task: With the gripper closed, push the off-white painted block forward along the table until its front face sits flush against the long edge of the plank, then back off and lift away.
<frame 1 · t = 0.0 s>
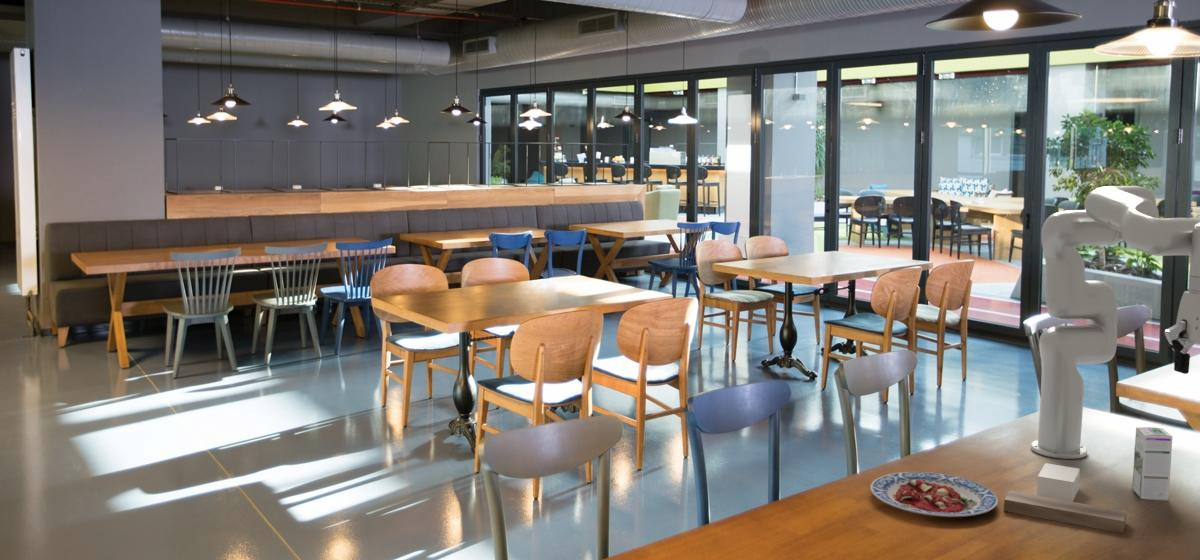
block: (1057, 494, 210), on the table
ceramic plate: (932, 502, 206), on the table
syrup box: (1149, 496, 208), on the table
plank: (1063, 516, 197), on the table
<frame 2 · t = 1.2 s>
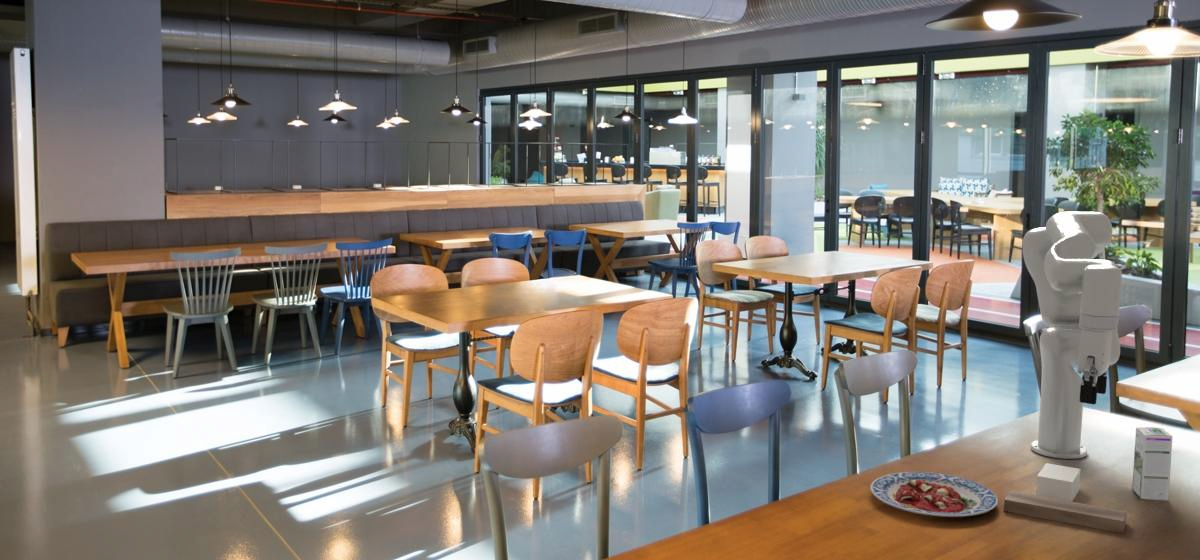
hand: (1092, 397, 211), 20 cm above the table, tool pointing down, fingers open, 9 cm apart
nothing on the table moved.
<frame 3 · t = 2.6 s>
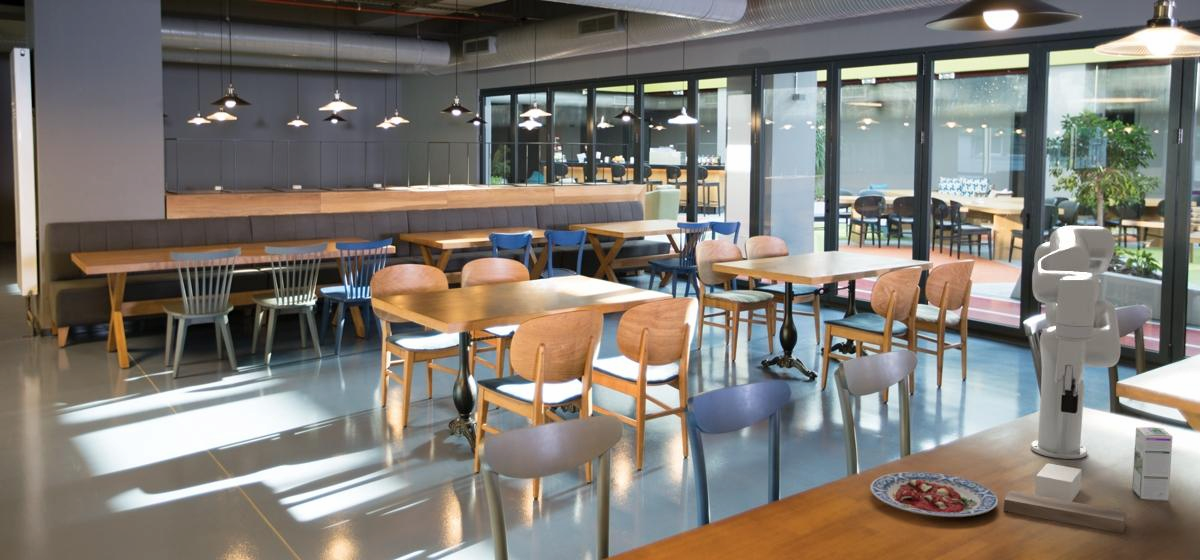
hand: (1068, 411, 216), 16 cm above the table, tool pointing down, fingers closed
nothing on the table moved.
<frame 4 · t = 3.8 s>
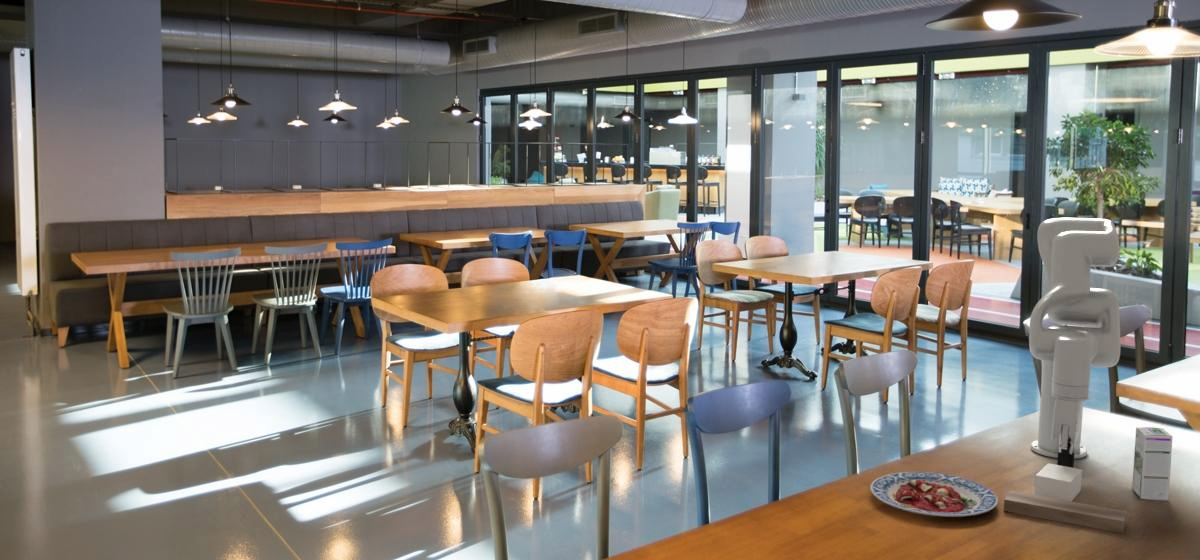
hand: (1065, 469, 218), 2 cm above the table, tool pointing down, fingers closed
nothing on the table moved.
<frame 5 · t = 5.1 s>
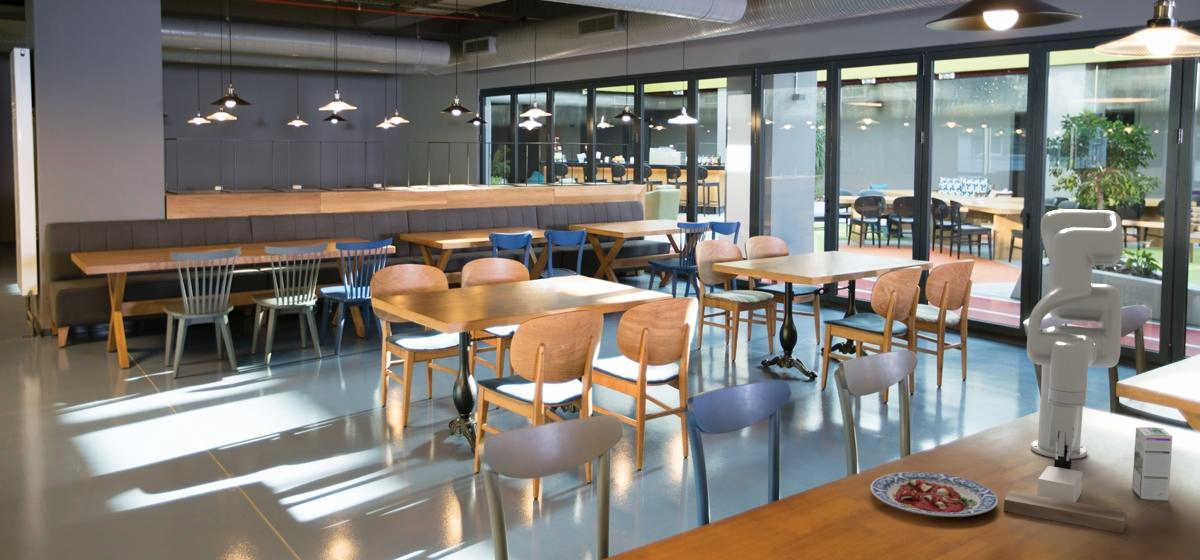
hand: (1061, 476, 214), 2 cm above the table, tool pointing down, fingers closed
block: (1059, 497, 208), on the table, touching gripper
everything else where it was.
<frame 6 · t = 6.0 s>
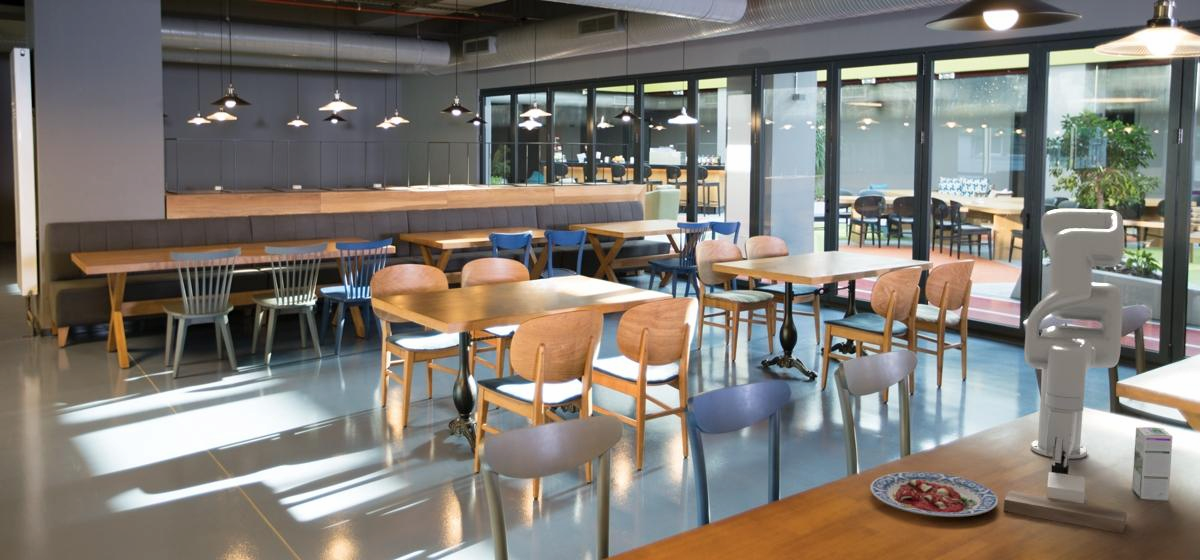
hand: (1059, 482, 211), 2 cm above the table, tool pointing down, fingers closed
block: (1064, 504, 204), on the table, touching gripper, plank
everything else where it was.
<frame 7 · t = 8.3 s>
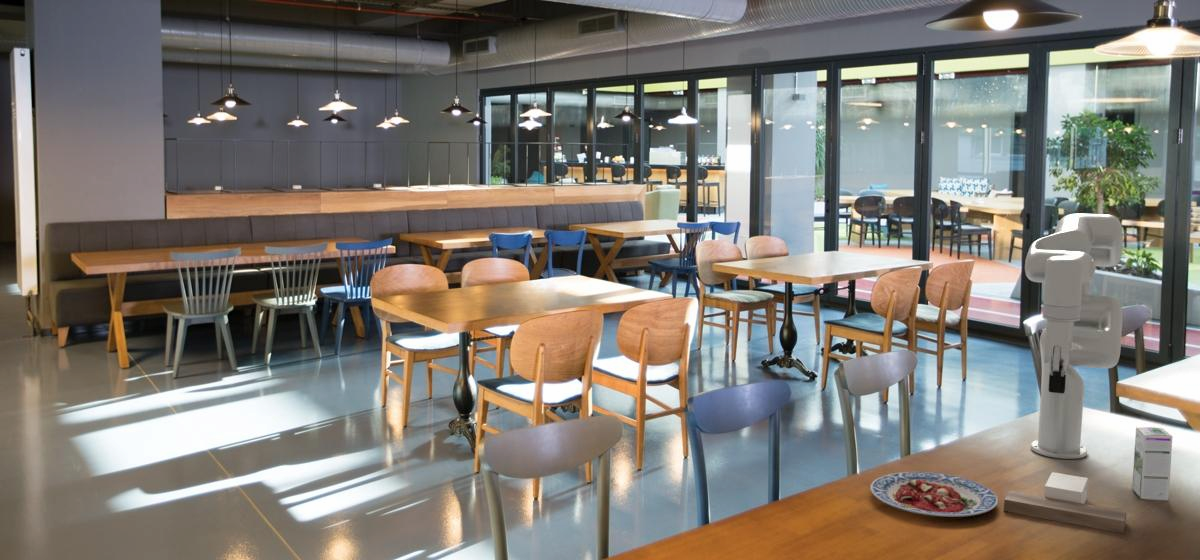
hand: (1056, 391, 216), 21 cm above the table, tool pointing down, fingers closed
block: (1065, 504, 204), on the table
everything else where it was.
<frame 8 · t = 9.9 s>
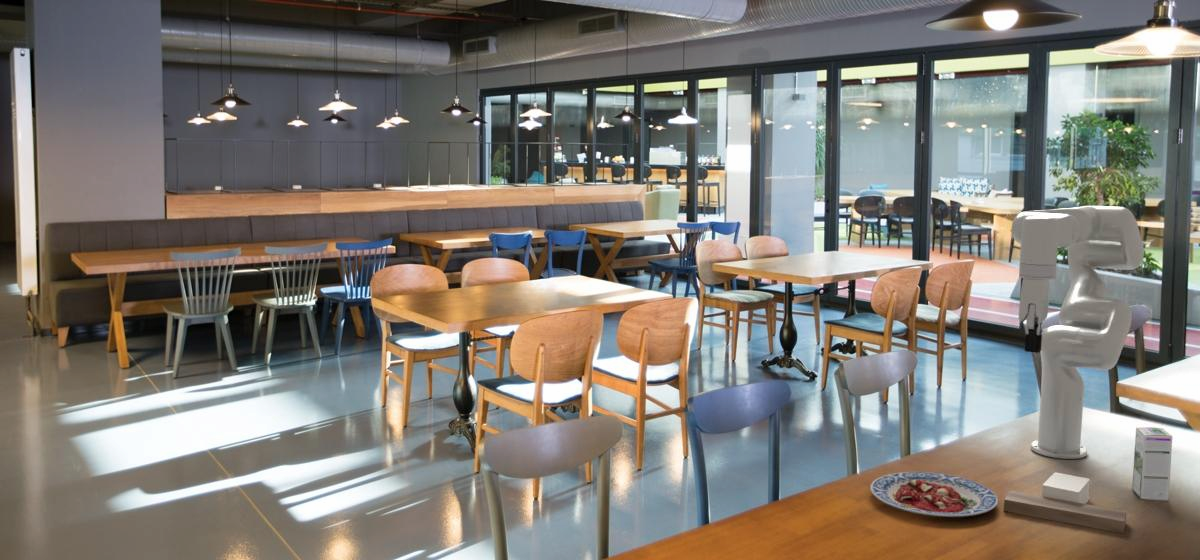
hand: (1032, 351, 218), 29 cm above the table, tool pointing down, fingers closed
nothing on the table moved.
at the end: block inside the target area on the table beside the plank (2.2 cm from its centre), on the table; block tilted 0° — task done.
